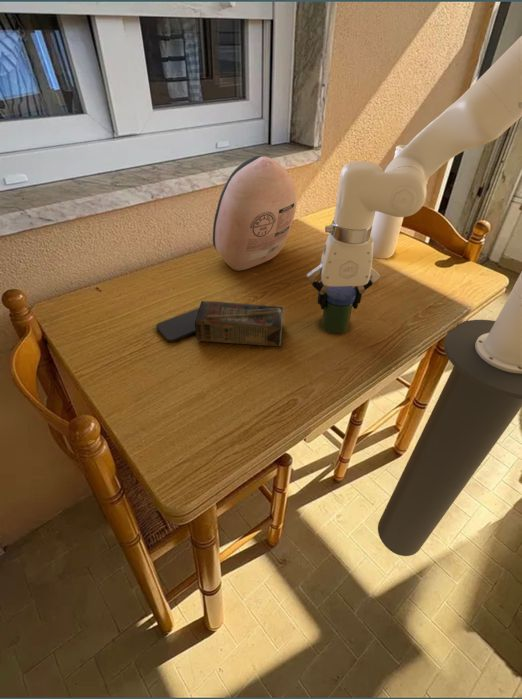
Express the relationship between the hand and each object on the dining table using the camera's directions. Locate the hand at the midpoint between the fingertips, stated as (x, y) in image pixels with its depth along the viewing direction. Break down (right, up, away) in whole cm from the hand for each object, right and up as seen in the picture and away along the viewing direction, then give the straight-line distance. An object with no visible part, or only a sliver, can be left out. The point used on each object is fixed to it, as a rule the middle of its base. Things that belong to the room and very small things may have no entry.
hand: (337, 305), depth 87 cm
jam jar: (0, -4, +4) cm, 6 cm away
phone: (-34, -4, +3) cm, 35 cm away
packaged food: (-19, +15, +26) cm, 36 cm away
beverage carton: (-22, -7, +1) cm, 23 cm away
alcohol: (+19, +20, +32) cm, 42 cm away
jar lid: (0, +3, -2) cm, 4 cm away
